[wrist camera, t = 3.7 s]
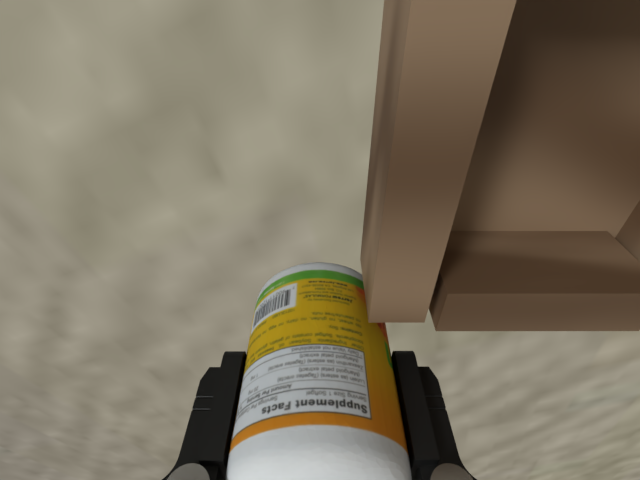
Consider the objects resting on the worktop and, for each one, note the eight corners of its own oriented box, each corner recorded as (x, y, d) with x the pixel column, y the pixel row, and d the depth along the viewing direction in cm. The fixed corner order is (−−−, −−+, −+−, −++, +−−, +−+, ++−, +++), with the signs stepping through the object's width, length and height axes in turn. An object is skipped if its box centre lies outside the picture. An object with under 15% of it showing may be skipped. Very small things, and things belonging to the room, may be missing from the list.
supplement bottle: (368, 343, 18) (405, 640, 10) (258, 337, 17) (209, 638, 10) (392, 262, 14) (476, 616, 7) (256, 252, 14) (179, 612, 6)
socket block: (633, 260, 14) (707, 331, 11) (358, 260, 14) (367, 331, 11) (924, -136, 7) (1269, -188, 5) (393, -137, 7) (436, -187, 5)
